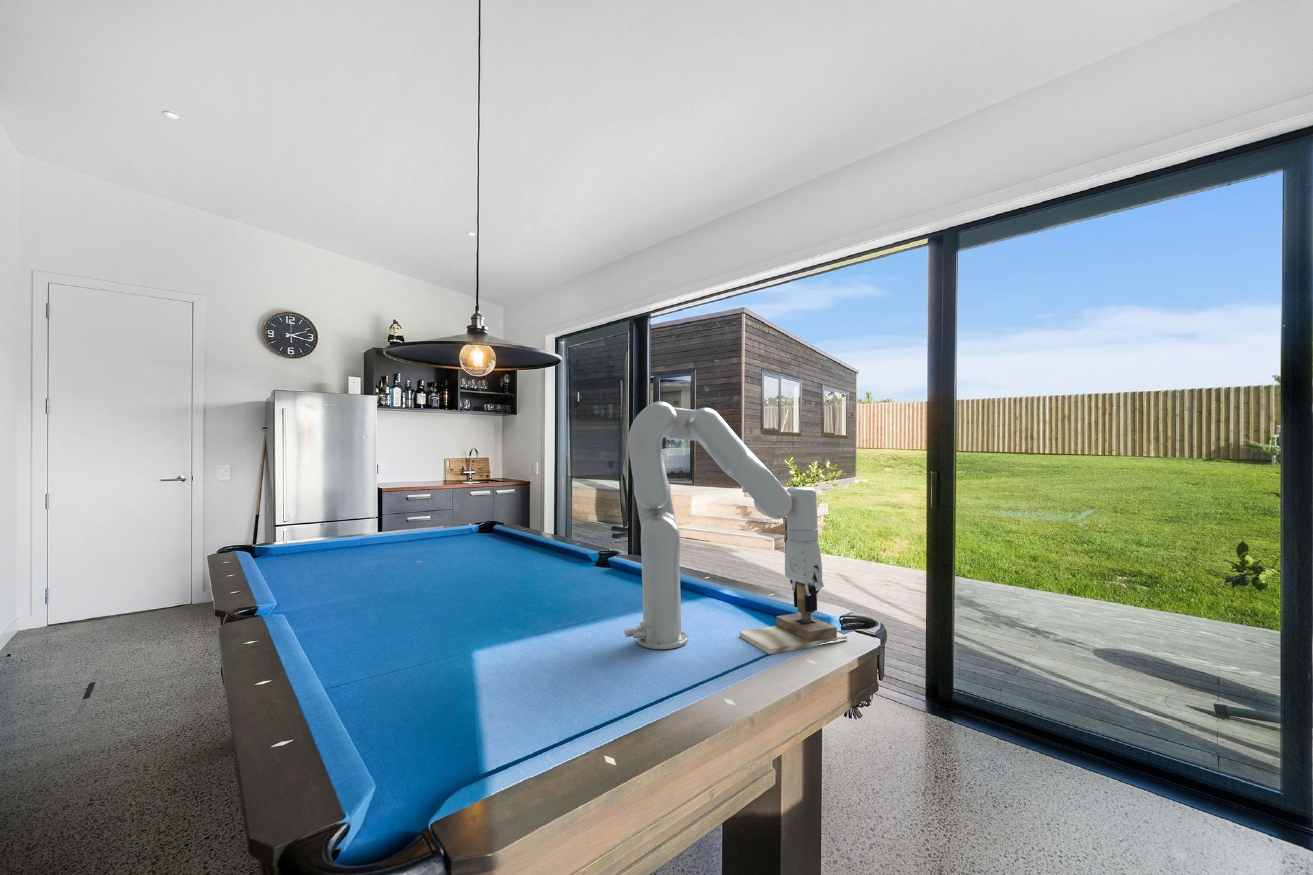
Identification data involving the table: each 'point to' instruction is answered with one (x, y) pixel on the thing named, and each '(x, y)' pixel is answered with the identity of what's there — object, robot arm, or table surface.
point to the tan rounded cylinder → (803, 604)
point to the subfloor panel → (791, 634)
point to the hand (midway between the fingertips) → (805, 607)
